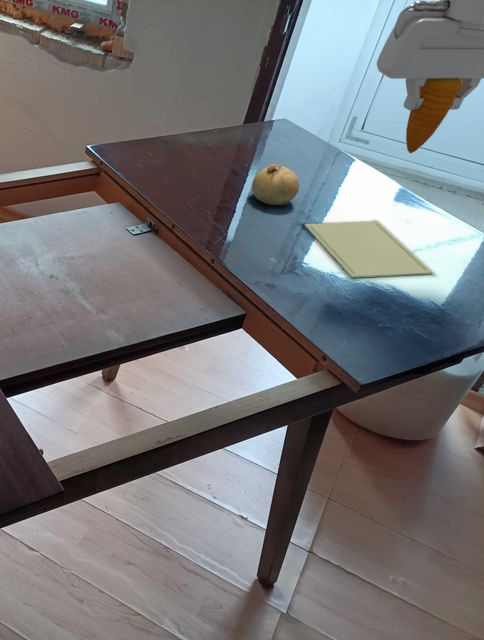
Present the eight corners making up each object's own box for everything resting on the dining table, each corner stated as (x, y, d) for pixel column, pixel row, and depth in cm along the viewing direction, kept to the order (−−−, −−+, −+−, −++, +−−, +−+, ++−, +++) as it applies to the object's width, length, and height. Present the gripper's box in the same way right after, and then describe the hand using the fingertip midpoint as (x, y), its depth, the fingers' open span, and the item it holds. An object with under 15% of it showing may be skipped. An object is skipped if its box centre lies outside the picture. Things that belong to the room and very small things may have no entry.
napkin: (431, 273, 109) (432, 272, 109) (351, 278, 107) (352, 276, 107) (376, 222, 121) (377, 221, 121) (303, 225, 119) (304, 223, 119)
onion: (262, 186, 130) (273, 150, 125) (301, 201, 126) (313, 165, 121) (240, 199, 125) (251, 163, 120) (280, 216, 121) (292, 179, 116)
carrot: (384, 148, 102) (429, 41, 92) (409, 144, 103) (455, 39, 94) (411, 162, 98) (460, 53, 88) (435, 157, 100) (487, 50, 90)
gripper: (420, 7, 83) (376, 118, 92) (565, 9, 87) (508, 116, 96) (391, -7, 88) (351, 100, 97) (529, -4, 91) (478, 99, 100)
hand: (430, 108), depth 96 cm, fingers closed on carrot, 5 cm apart
